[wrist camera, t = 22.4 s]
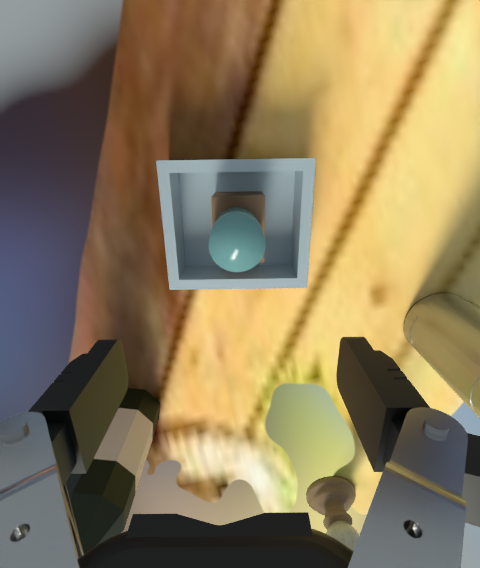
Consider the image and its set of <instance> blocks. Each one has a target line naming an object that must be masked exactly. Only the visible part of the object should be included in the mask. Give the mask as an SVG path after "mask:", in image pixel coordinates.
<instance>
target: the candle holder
mask: <svg viewBox="0 0 480 568" xmlns="http://www.w3.org/2000/svg"><path fill="white" fill-rule="evenodd" d="M355 496H356V494H355V490H354V488H353V486H352V484H351V483H350V482H349V481H347V480H346V479H344V478H341V477H335V476H331V477H324V478H321V479H318V480H316V481H315V482H313V483H312V484H311V485H310V486H309V488H308V490H307V493H306V498H307V502H308V504H309V506H310V507H311V508H312V509H313V510H315V511H317V512H318V513H320V514H322V515H325V518H324V522H323V523H324V526H325V528H326V529H327V533H326V534H327V535H329V536H331V537H333V538H335V539H336V540H338V541H340V542H341V543H343V544H344V545H346V546H347V547H348V548H350V549H351V550H352V551H353V552H354V549H355V547H356V544H357V541H358V538H359V534H358V533H357V531H356V530H355V529H354V528H353V527H352V526H351V525H352V518H351V516H350V515H349V514H347V512H346V511H347V510H348V509H349V508H350V507H351V505H352V504H353V502H354V500H355Z"/></svg>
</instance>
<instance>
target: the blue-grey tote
mask: <svg viewBox="0 0 480 568" xmlns="http://www.w3.org/2000/svg"><path fill="white" fill-rule="evenodd" d="M315 163H316V158H283V159H223V160H163V161H156V164H157V174H158V183H159V193H160V202H161V212H162V221H163V231H164V241H165V250H166V260H167V269H168V279H169V289H170V290H183V289H255V288H307V283H308V268H309V253H310V238H311V223H312V208H313V193H314V178H315ZM242 191H262V192H263V194H264V195H265V242H266V247H265V254H264V263H258V264H257V265H256V266H254V267H253V268H251V269H249V270H247V271H244V272H230V271H227V270H225V269H223V268H221V267H220V266H218V265H217V264H216V263H214V260H213V259H212V257H211V255H210V252H209V237H210V234H211V231H212V205H211V197H212V196H213V194H214V193H215V192H242Z"/></svg>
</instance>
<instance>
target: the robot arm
mask: <svg viewBox="0 0 480 568" xmlns="http://www.w3.org/2000/svg"><path fill="white" fill-rule="evenodd" d="M404 334H405V337H406V339H407V340H408V342H409V343H410V344H411V345H412V346H413V347H414V348H415V349H416V350H417V351H418V352H419V354H420V355H421V356H422V357H423V358H424V359H425V360H426V361H427V362H428V363H429V364H430V366H431V367H432V368H433V369H434V370H435V371H436V372H437V373H438V374H439V375H440V376H441V377H442V378H443V380H444V381H445V382H446V383H447V384H448V385H449V386H450V387H451V388H452V389H453V390H454V391H455V392H456V393H457V395H458V396H459V397H460V398H461V399H462V400H463V401H464V402H465V403H466V404H467V405H468V406H469V407H470V409H472V411H473V412H474V413H475V414H476V415H477V416H478V417H479V418H480V306H478V305H476V304H475V303H473V302H467V301H465V300H464V299H462V298H461V297H459V296H456V295H454V294H450V293H438V294H433V295H430V296H428V297H425V298H424V299H422V300H420V301H419V302H418V303H416V304H415V305H414V306H413V307H412V308H411V310H410V311H409V312H408V314H407V316H406V318H405V322H404ZM128 383H129V375H128V369H127V363H126V357H125V352H124V346H123V343H122V341H121V340H98V341H97V342H96V343H95V345H94V346H93V347H92V348H91V350H90V351H89V352H88V353H87V354H82V355H80V356H79V357H77V358H76V359H74V360H73V361H71V362H70V363H69V364H68V365H67V366H66V368H65V369H64V370H63V371H62V373H61V374H60V375H59V376H58V377H57V378H56V380H55V381H54V383H52V384H51V385H50V386H49V388H48V389H47V390H46V391H45V392H44V394H43V395H42V396H41V397H40V398H39V399H38V401H37V402H36V403H35V404H34V405H33V407H32V408H31V409H30V410H29V411H28V412H24V413H20V414H17V415H14V416H11V417H9V418H7V419H5V420H3V421H2V422H0V568H461V557H462V547H463V536H464V525H465V523H469V524H472V525H475V526H478V527H480V436H477V435H472V434H469V433H467V432H466V431H465V429H464V428H463V426H462V425H461V424H460V423H459V422H458V421H456V420H455V419H454V418H452V417H451V416H449V415H447V414H446V413H443V412H441V411H439V410H436V409H432V408H430V407H429V406H428V404H427V403H426V402H425V400H424V399H423V398H422V397H421V395H420V394H419V393H418V391H417V390H416V389H415V387H414V386H413V385H412V384H411V382H410V381H409V380H407V377H406V376H405V375H404V373H403V372H402V371H400V368H399V367H398V365H397V364H396V363H395V362H394V360H393V359H392V358H390V357H389V356H387V355H386V354H384V353H383V352H382V351H374V350H373V348H372V347H371V346H370V344H369V343H368V341H367V340H366V339H365V338H364V337H342V339H341V341H340V349H339V357H338V366H337V385H338V389H339V392H340V394H341V396H342V399H343V401H344V403H345V406H346V408H347V410H348V413H349V415H350V417H351V419H352V422H353V424H354V426H355V429H356V431H357V433H358V436H359V438H360V440H361V443H362V445H363V447H364V450H365V452H366V454H367V457H368V459H369V461H370V464H371V466H372V468H373V471H374V472H383V473H382V476H381V478H380V481H379V484H378V487H377V489H376V492H375V495H374V498H373V500H372V503H371V506H370V508H369V511H368V514H367V517H366V519H365V522H364V525H363V528H362V531H361V533H360V536H359V538H358V541H357V544H356V547H355V549H354V552H353V551H352V550H351V549H350V548H348V547H347V546H346V545H344V544H343V543H341V542H340V541H338V540H336V539H335V538H333V537H331V536H329V535H327V534H325V533H322V532H320V531H317V530H314V529H311V525H310V520H309V515H308V513H263V514H260V515H256V516H253V517H250V518H246V519H243V520H240V521H236V522H233V523H229V524H226V525H221V526H218V525H213V524H210V523H206V522H203V521H199V520H196V519H192V518H188V517H185V516H181V515H178V514H133V516H132V519H131V523H130V526H129V529H128V531H126V532H123V533H120V534H118V535H115V536H113V537H111V538H109V539H107V540H105V541H103V542H102V543H100V544H98V545H97V546H95V547H94V548H92V549H91V550H90V551H88V552H87V553H86V554H84V553H83V549H82V545H81V542H80V538H79V534H78V530H77V526H76V522H75V518H74V514H73V510H72V506H71V502H70V498H69V495H68V491H67V487H66V482H67V480H68V478H69V476H70V474H86V473H87V471H88V469H89V467H90V465H91V463H92V461H93V459H94V457H95V455H96V453H97V451H98V449H99V447H100V445H101V442H102V440H103V438H104V436H105V434H106V432H107V430H108V428H109V426H110V424H111V422H112V420H113V418H114V416H115V414H116V412H117V410H118V408H119V406H120V404H121V402H122V400H123V398H124V396H125V394H126V392H127V388H128Z"/></svg>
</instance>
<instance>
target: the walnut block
mask: <svg viewBox="0 0 480 568" xmlns="http://www.w3.org/2000/svg"><path fill="white" fill-rule="evenodd" d="M211 205H212V228H213V225H214V222H215V220H216V218H217V217H218V215H219V214H220V213H221V212H223V211H224V210H226V209H228V208H231V207H243V208H246V209H248V210H250V211H251V212H252V213H253V214H254V215H255V216H256V217H257V219H258V221H259V223H260V226H261V229H262V231H263V234H264V237H265V195H264V194H263V192H262V191H242V192H215V193H214V194H213V196H212V197H211ZM264 254H265V252H264ZM214 263H215V261H214ZM259 263H264V255H263V257H262V259H261V260H260V262H259Z"/></svg>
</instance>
